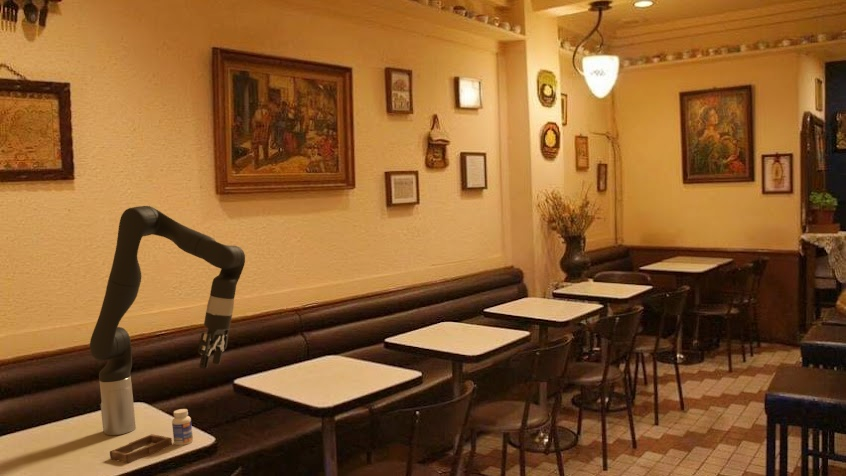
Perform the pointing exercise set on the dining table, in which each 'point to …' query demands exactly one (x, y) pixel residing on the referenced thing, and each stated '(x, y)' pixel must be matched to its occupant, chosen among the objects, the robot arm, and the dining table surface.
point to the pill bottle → (182, 427)
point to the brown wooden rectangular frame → (129, 456)
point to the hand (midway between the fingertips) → (209, 365)
